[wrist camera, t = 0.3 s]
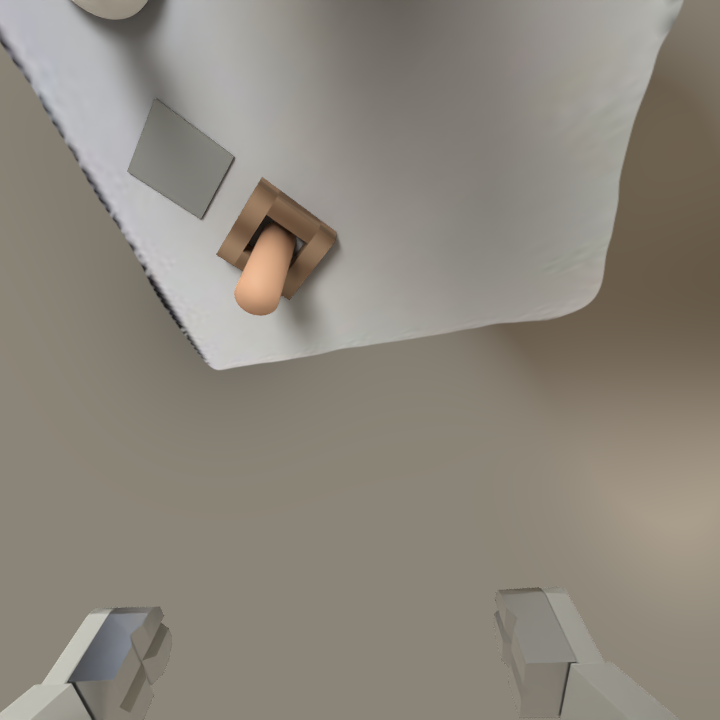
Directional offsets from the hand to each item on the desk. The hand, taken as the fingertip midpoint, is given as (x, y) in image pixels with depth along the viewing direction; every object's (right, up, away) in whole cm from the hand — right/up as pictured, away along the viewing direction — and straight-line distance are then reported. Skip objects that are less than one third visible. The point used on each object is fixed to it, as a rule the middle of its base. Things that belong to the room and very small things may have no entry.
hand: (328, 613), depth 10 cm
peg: (-11, +24, +48) cm, 54 cm away
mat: (-22, +31, +41) cm, 56 cm away
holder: (-11, +24, +48) cm, 54 cm away
